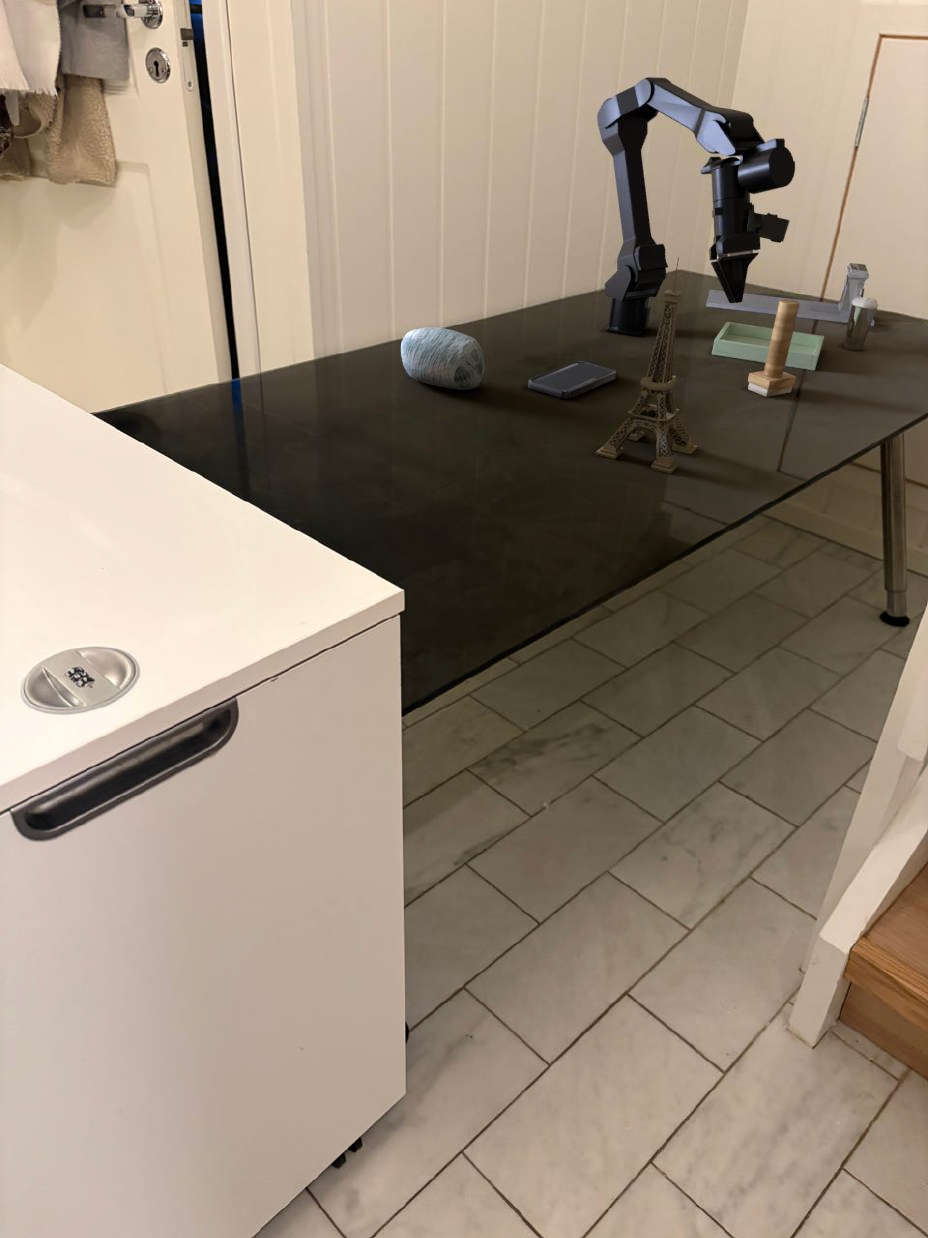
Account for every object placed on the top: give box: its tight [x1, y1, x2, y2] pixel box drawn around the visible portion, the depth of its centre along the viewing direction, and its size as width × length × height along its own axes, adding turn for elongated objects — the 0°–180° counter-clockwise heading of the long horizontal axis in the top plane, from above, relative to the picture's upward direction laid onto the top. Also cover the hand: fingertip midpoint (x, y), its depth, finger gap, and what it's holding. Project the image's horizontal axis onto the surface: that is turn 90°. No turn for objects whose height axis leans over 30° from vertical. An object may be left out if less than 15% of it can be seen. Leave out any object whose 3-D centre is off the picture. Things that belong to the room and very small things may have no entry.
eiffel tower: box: [594, 256, 699, 475], centre depth 121 cm, size 11×11×25 cm
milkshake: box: [843, 287, 879, 351], centre depth 173 cm, size 4×5×10 cm
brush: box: [747, 298, 800, 398], centre depth 148 cm, size 6×4×14 cm
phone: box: [527, 360, 617, 400], centre depth 150 cm, size 8×1×15 cm
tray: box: [711, 321, 825, 371], centre depth 169 cm, size 18×14×3 cm
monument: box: [705, 262, 875, 327], centre depth 195 cm, size 12×33×10 cm, turn 75°
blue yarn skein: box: [400, 326, 486, 391], centre depth 145 cm, size 14×10×10 cm
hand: (735, 302), depth 155 cm, fingers open, 9 cm apart
